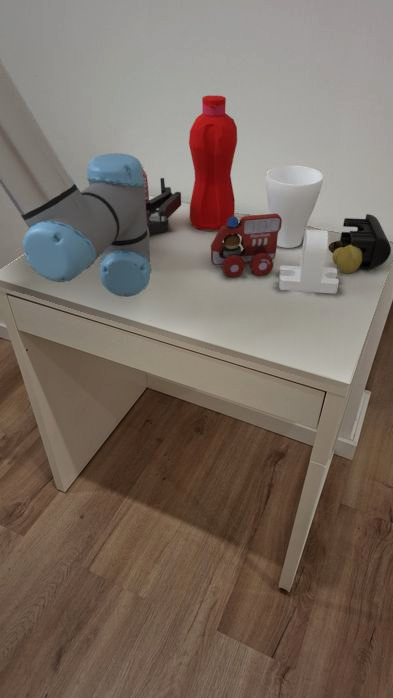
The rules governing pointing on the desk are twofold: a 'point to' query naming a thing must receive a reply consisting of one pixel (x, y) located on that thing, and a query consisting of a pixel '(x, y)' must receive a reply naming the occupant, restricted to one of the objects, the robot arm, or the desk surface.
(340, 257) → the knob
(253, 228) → the toy fire truck
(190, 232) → the desk surface
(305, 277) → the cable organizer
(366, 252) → the end cap
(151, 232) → the tray
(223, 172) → the water bottle
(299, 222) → the cup
